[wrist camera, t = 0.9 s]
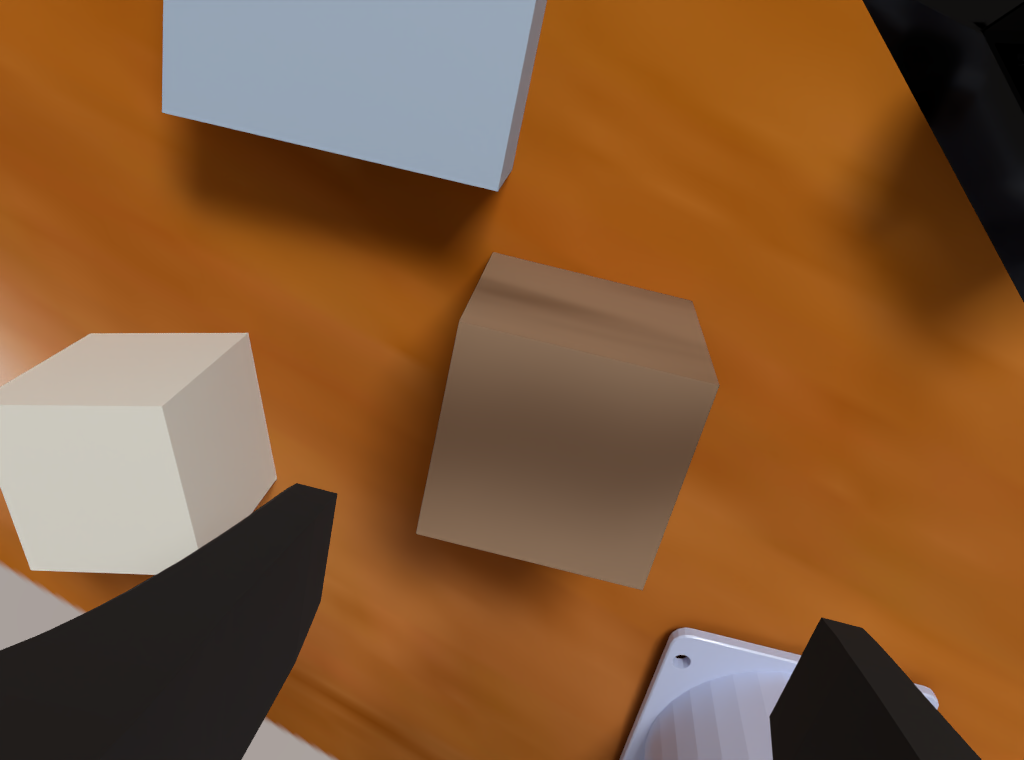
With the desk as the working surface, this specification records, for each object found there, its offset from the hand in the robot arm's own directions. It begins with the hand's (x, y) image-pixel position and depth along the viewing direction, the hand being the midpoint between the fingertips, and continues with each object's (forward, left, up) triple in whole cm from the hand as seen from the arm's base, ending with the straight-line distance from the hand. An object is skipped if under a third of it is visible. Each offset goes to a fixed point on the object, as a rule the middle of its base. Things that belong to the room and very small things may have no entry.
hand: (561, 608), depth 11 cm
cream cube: (-4, +10, -10) cm, 15 cm away
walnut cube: (0, 0, -10) cm, 10 cm away
